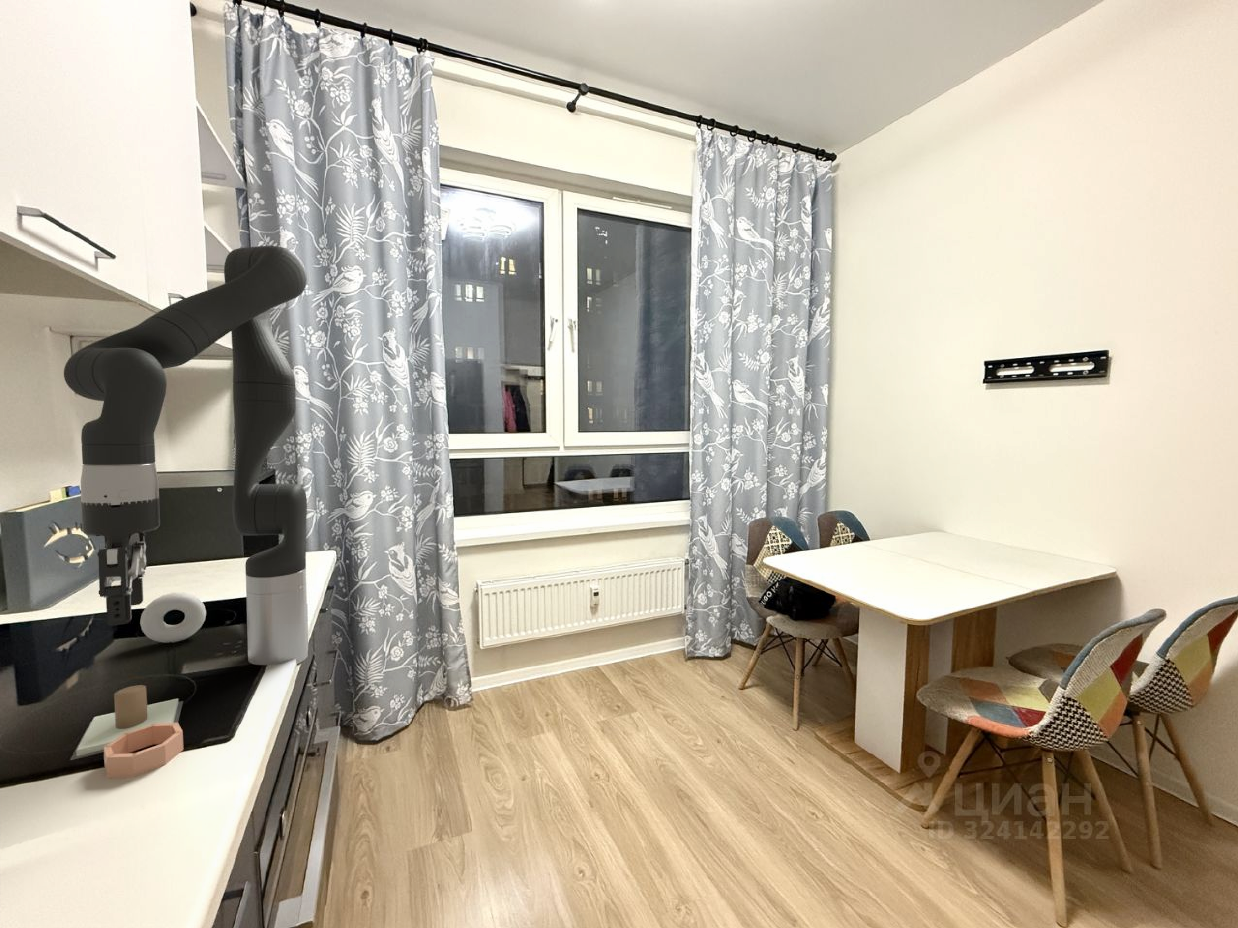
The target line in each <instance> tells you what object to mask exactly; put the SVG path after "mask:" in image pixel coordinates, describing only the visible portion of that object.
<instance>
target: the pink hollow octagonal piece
mask: <svg viewBox="0 0 1238 928" xmlns="http://www.w3.org/2000/svg"><path fill="white" fill-rule="evenodd" d="M183 733H184V732H183V729H182V728H181V726H180V724H179V722H178V723H154V724H151V725H148V726H145V727H142V728H139V729H136V730H132V731H129V732H126V733H124V734H122V735H121V736H119V737H118V738H116V739H115V740H114V741H112V742H111V743H109V744H108V745H106V746H105V747H104V752H103V760H104V761H103V762H104V763H103V764H104V769H105V772H106V777H107V778H108V779H109V778H124V777H125V778H127V777H128V778H129V777H136V776H139V775H141V774H144V773H148V772H150V771H152V770H154V769H157V768H160V767H163V766H166V765H167V764H168V763H169V762H171V760H173V759H174V758H175V757H177V756H178V755H179V754H180V753H181V752H182V751H184V734H183ZM153 745H155V746H153ZM150 746H152V747H150ZM148 747H149V748H148ZM145 748H146V749H145ZM142 749H143V750H142ZM139 750H141V751H139ZM136 751H137V752H136Z"/></svg>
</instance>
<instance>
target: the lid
mask: <svg viewBox="0 0 1238 928" xmlns="http://www.w3.org/2000/svg"><path fill="white" fill-rule="evenodd" d="M147 696H148V695H147V686H146V685H143V684H140V685H139V684H137V685H130V686H128V687H124V688H122V689H120V690H117V691H116V692H115V693H113V697H114V712H111V713H106V714H102V715H97V716H94V717H93V719H92V721H90V722H91V724H90V723H89V724H90V726H89V725H88V726H89V728H88V727H87V728H88V730H87V732H86V733H85V732H84V733H85V735H84V734H83V735H84V737H83V736H82V737H83V739H82V738H81V739H82V741H81V743H80V745H79V746H78V745H77V746H78V748H77V747H76V748H77V750H76V749H75V750H76V754H77V756H81V755H85V754H89V753H93V752H97V751H100V750H104V747H105V746H106V745H108V744H109V743H111V742H112V741H114V740H115V739H116V738H118V737H119V736H121V735H122V734H124V733H126V732H129V731H132V730H136V729H139V728H142V727H145V726H148V725H151V724H154V723H173V722H174V718H175V715H176V711H177V707H178V702H179V698H173V699H169V700H164V701H160V702H156V703H152V704H148V699H147Z"/></svg>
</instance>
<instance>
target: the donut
mask: <svg viewBox="0 0 1238 928" xmlns="http://www.w3.org/2000/svg"><path fill="white" fill-rule="evenodd" d="M173 610H178V611H181V612H182V613H184V619H183V620H182V621H181V622H180V623H178V624H167V623H166V622H165V621H164V617H165V615H166V614H167V613H168V612H170V611H173ZM140 615H141V616H140V622H139V624H140V627H141V631H142V633H144V635H145V636H146V638H149V639H150V640H152V641H154V642H159V643H163V644H166V643H167V644H168V643H169V644H170V642H171V643H177V642H180V641H184V640H186V639H188V638H190V637H192V636H193V635H194V634H196V633H197V632H198V631H199V630H200V629H201V628H202V626H203V624H204V622H205V621H206V616H207V610H206V606H205V604H204V603H203V602H202V600H201V599H200V598H199V597H197V596H195V595H194V594H191V593H187V592H171V593H167V594H164V595H161V596H159V597H157V598H155V599H154V600H152V601H151V602H150V603H149V604H148V605H147V606H145V609H144V610H143V611H142V613H141V614H140Z"/></svg>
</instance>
